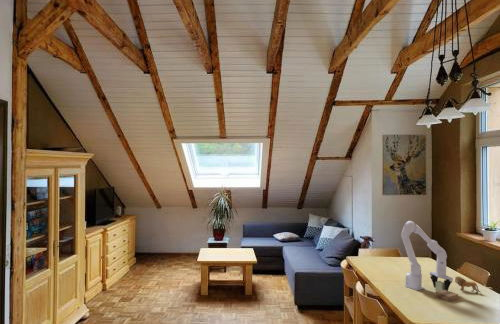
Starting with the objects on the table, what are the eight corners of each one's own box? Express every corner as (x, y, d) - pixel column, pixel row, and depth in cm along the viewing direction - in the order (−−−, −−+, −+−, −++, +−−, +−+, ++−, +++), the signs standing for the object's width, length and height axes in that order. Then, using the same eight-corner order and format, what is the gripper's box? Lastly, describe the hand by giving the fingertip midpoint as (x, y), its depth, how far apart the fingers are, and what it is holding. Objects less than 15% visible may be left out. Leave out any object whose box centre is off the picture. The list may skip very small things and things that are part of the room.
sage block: (435, 290, 242) (435, 281, 242) (439, 289, 244) (439, 280, 244) (441, 293, 238) (442, 283, 238) (446, 292, 240) (446, 282, 240)
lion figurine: (455, 290, 242) (455, 277, 242) (454, 288, 247) (454, 274, 247) (481, 294, 236) (481, 280, 236) (479, 291, 241) (480, 278, 241)
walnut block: (435, 297, 231) (435, 291, 231) (444, 295, 235) (444, 289, 235) (449, 302, 223) (449, 296, 223) (458, 300, 227) (458, 294, 227)
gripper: (455, 270, 236) (455, 291, 237) (434, 264, 249) (434, 284, 249) (449, 272, 233) (448, 293, 233) (428, 266, 245) (427, 286, 246)
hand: (440, 289), depth 241 cm, fingers open, 7 cm apart
